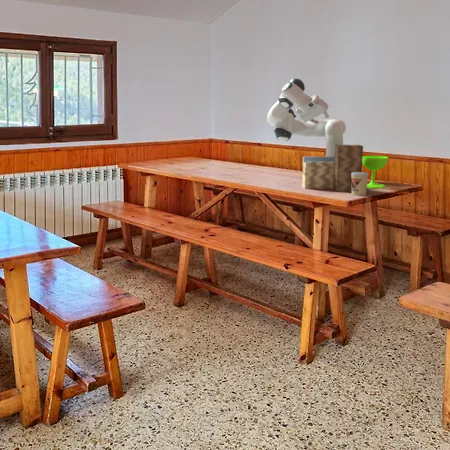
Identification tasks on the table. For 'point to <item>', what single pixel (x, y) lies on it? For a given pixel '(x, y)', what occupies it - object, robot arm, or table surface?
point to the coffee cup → (359, 183)
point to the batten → (318, 159)
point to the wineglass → (374, 168)
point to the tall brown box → (346, 165)
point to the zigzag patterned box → (318, 175)
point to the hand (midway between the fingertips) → (322, 120)
